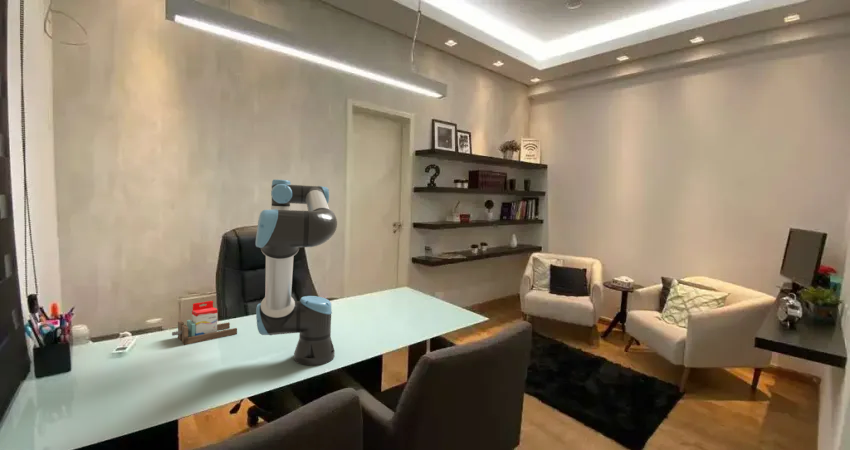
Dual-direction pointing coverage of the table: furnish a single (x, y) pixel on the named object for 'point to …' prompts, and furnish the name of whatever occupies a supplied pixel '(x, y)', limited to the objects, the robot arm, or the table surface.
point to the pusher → (190, 329)
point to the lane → (207, 336)
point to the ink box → (204, 318)
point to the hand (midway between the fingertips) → (279, 265)
